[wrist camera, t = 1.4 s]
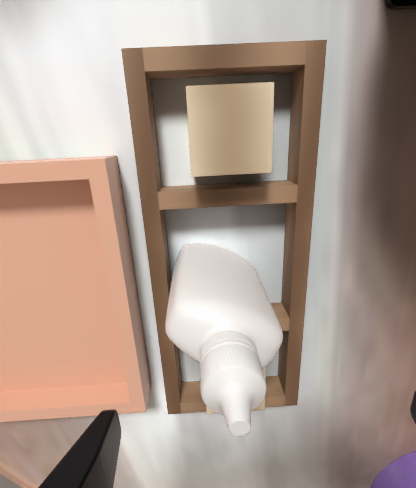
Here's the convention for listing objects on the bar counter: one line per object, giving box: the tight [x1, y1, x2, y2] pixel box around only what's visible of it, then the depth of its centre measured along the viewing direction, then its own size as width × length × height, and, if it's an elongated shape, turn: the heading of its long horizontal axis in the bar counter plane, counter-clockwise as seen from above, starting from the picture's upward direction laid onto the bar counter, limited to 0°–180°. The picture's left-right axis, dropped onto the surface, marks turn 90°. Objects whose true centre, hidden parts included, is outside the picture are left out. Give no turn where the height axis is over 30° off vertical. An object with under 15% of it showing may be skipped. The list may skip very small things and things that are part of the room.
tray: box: [0, 156, 151, 422], centre depth 19 cm, size 14×18×2 cm
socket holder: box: [122, 40, 327, 414], centre depth 19 cm, size 10×24×2 cm, turn 3°
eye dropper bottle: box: [165, 243, 283, 436], centre depth 15 cm, size 4×6×12 cm
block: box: [186, 82, 274, 177], centre depth 16 cm, size 4×4×4 cm
